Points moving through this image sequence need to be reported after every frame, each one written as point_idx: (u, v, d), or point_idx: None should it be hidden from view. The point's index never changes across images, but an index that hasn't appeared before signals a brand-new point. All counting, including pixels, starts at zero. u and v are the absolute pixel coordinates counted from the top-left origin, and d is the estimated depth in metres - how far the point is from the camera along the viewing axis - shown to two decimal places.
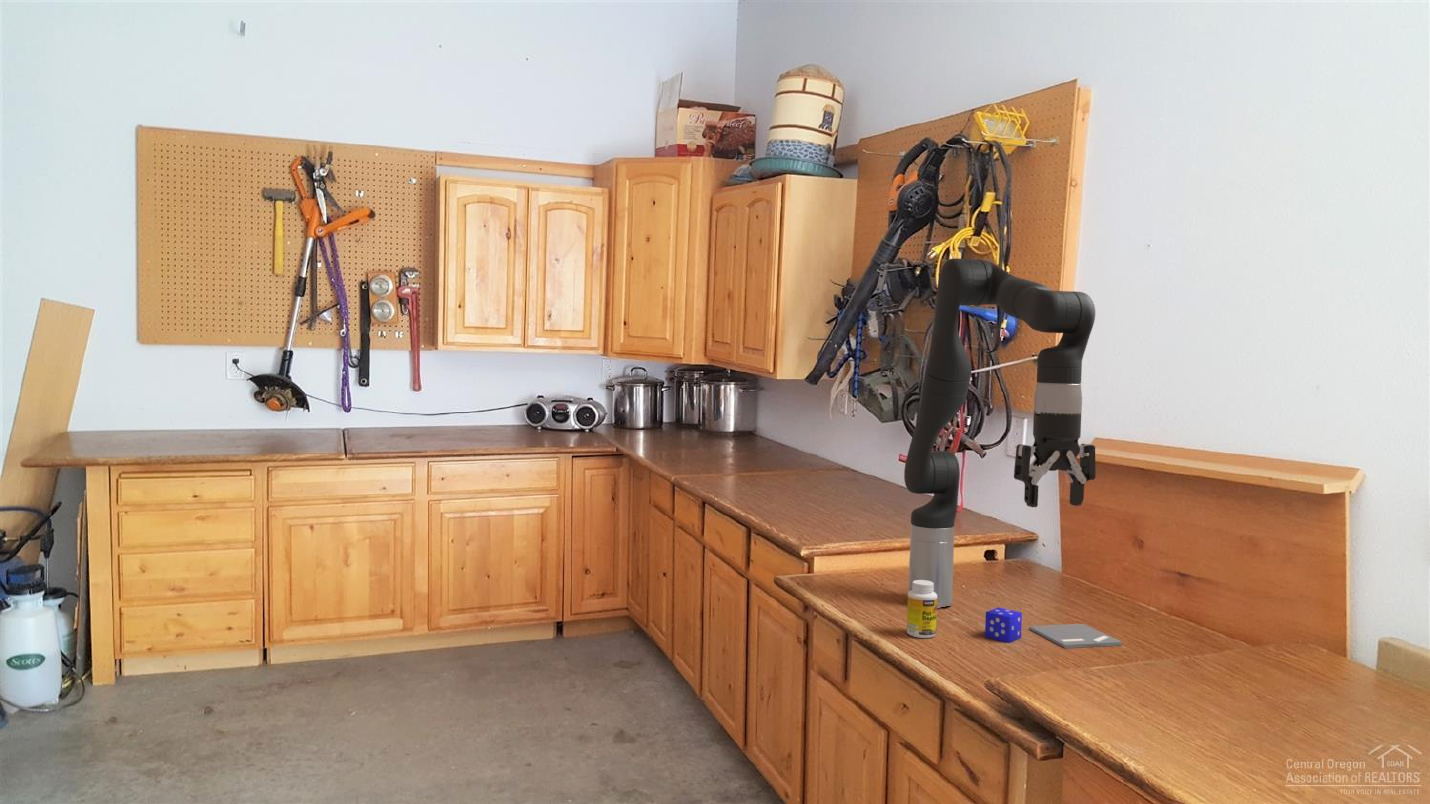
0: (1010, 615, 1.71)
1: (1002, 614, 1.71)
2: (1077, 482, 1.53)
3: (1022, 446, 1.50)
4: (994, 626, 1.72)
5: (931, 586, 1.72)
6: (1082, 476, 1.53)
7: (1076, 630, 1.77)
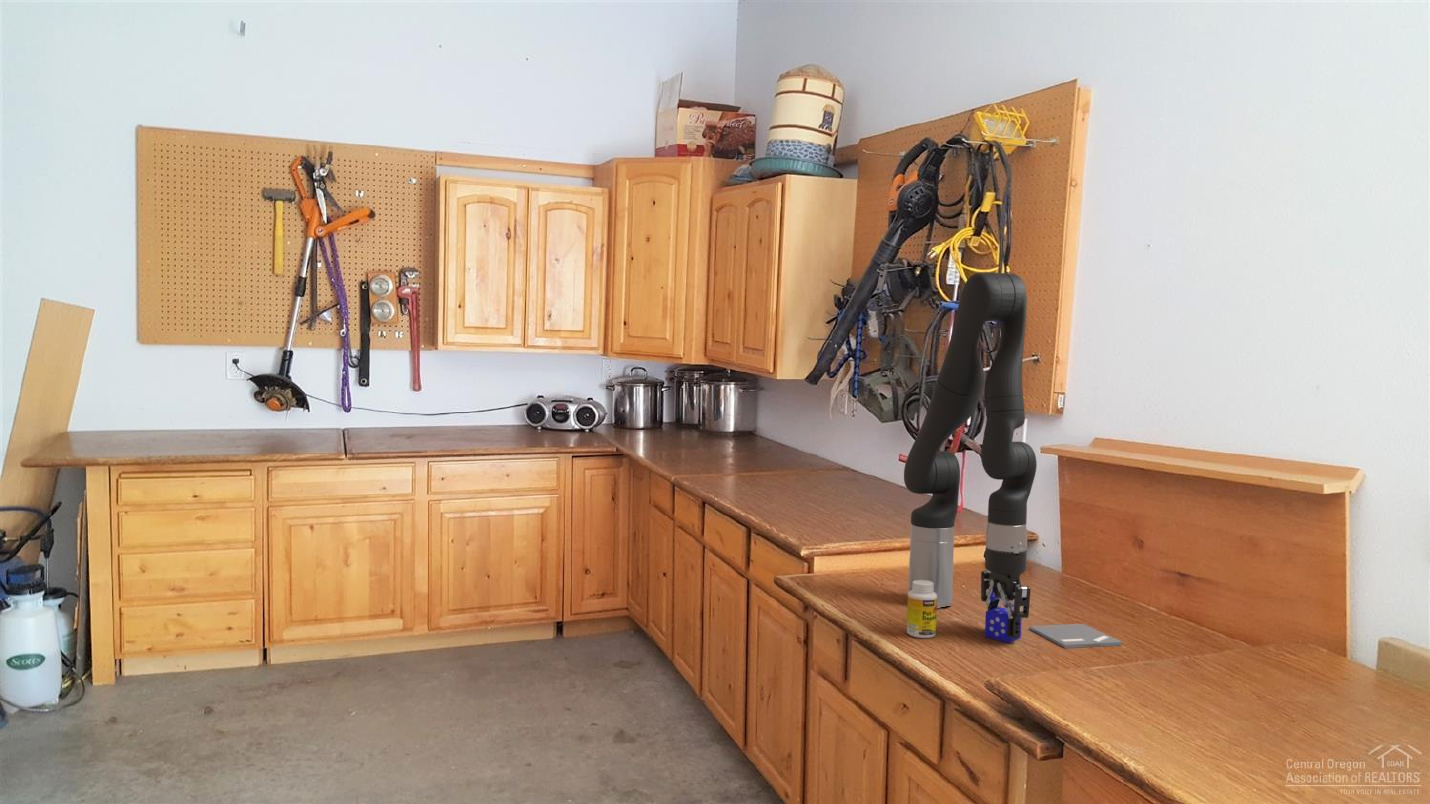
0: None
1: (1002, 613, 1.71)
2: (996, 606, 1.77)
3: (1025, 588, 1.66)
4: (994, 626, 1.72)
5: (931, 586, 1.72)
6: None
7: (1076, 630, 1.77)
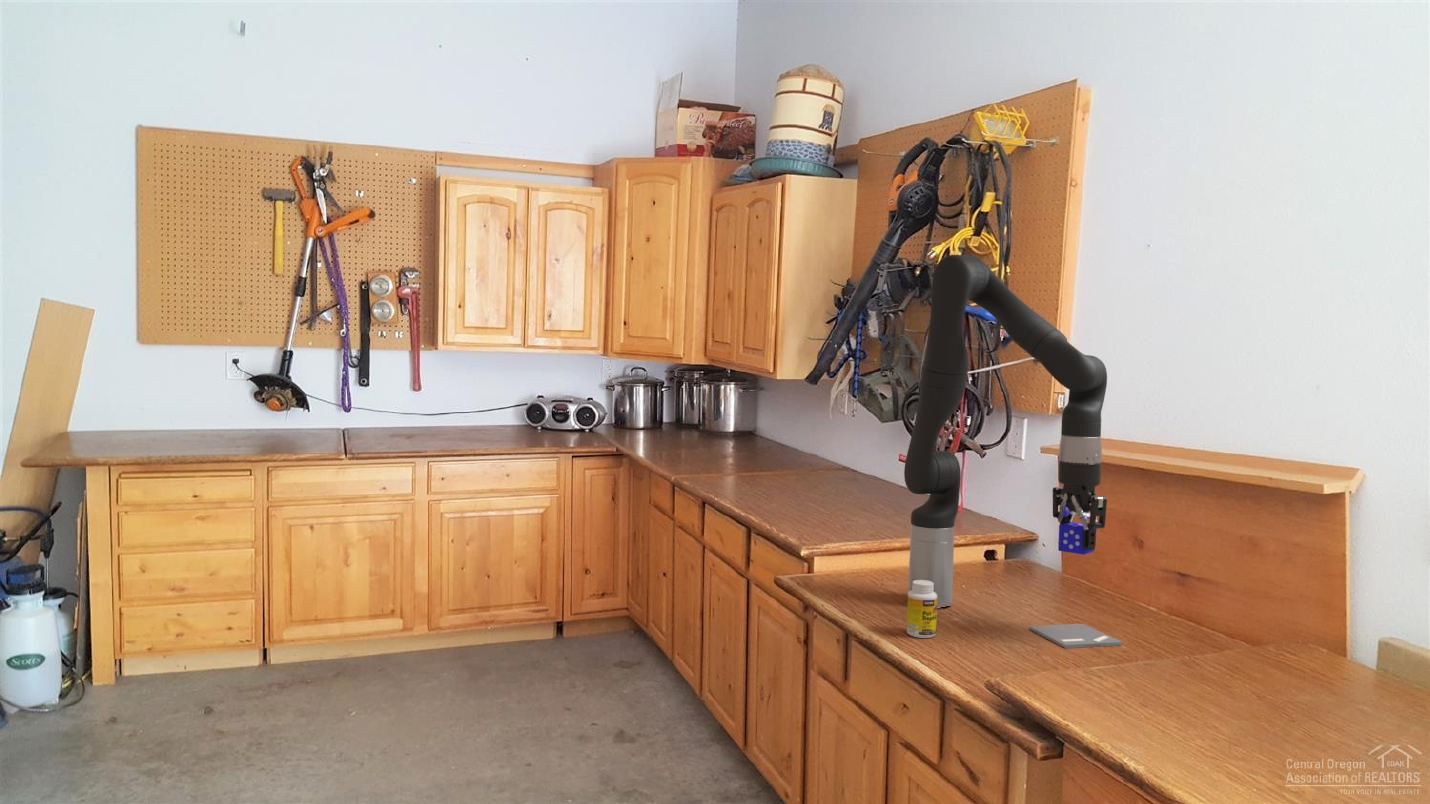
0: None
1: (1076, 526, 1.72)
2: (1069, 521, 1.77)
3: (1102, 498, 1.66)
4: (1068, 538, 1.72)
5: (931, 586, 1.72)
6: None
7: (1076, 630, 1.77)
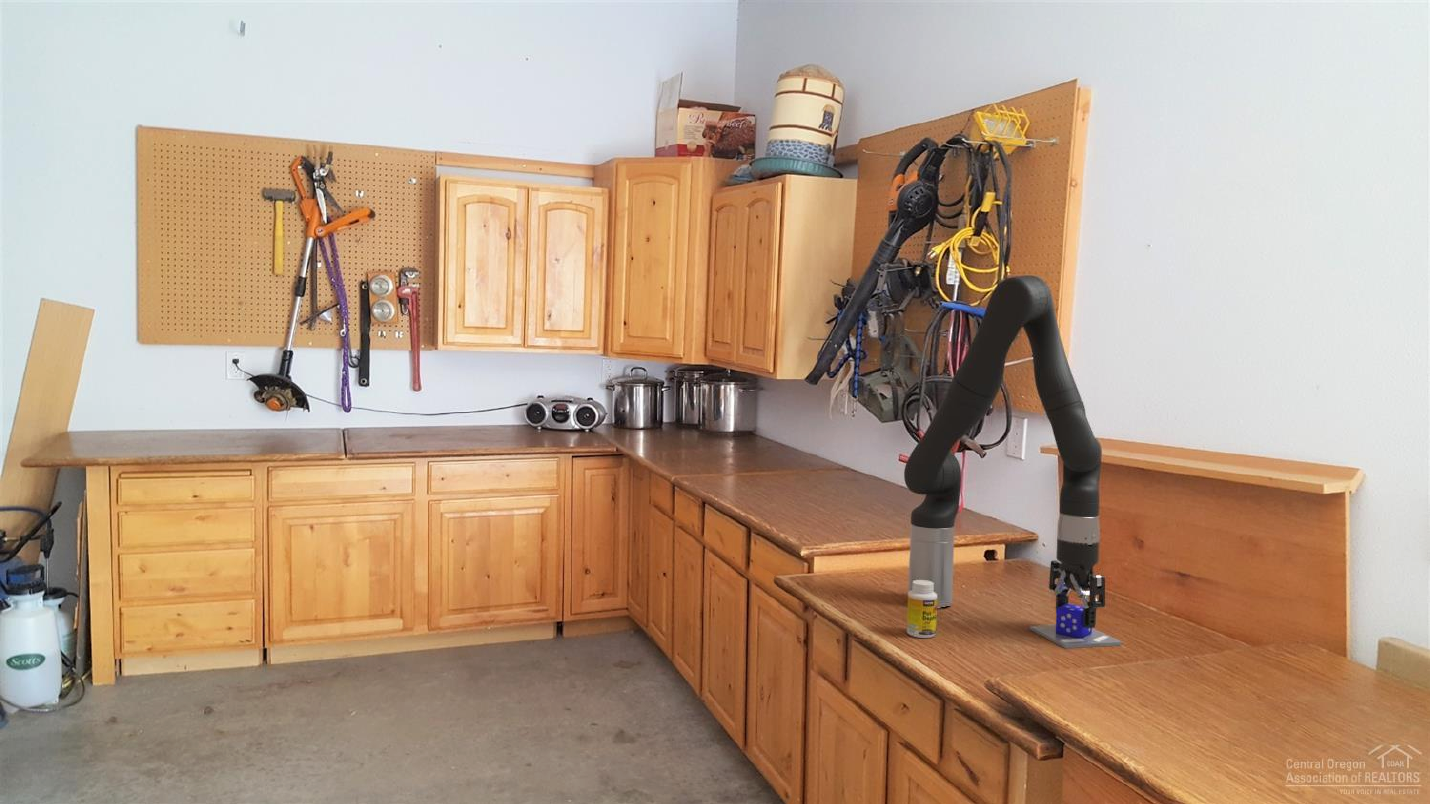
0: (1082, 611, 1.72)
1: (1073, 610, 1.72)
2: (1065, 595, 1.78)
3: (1100, 577, 1.67)
4: (1065, 622, 1.73)
5: (931, 586, 1.72)
6: (1067, 588, 1.79)
7: None
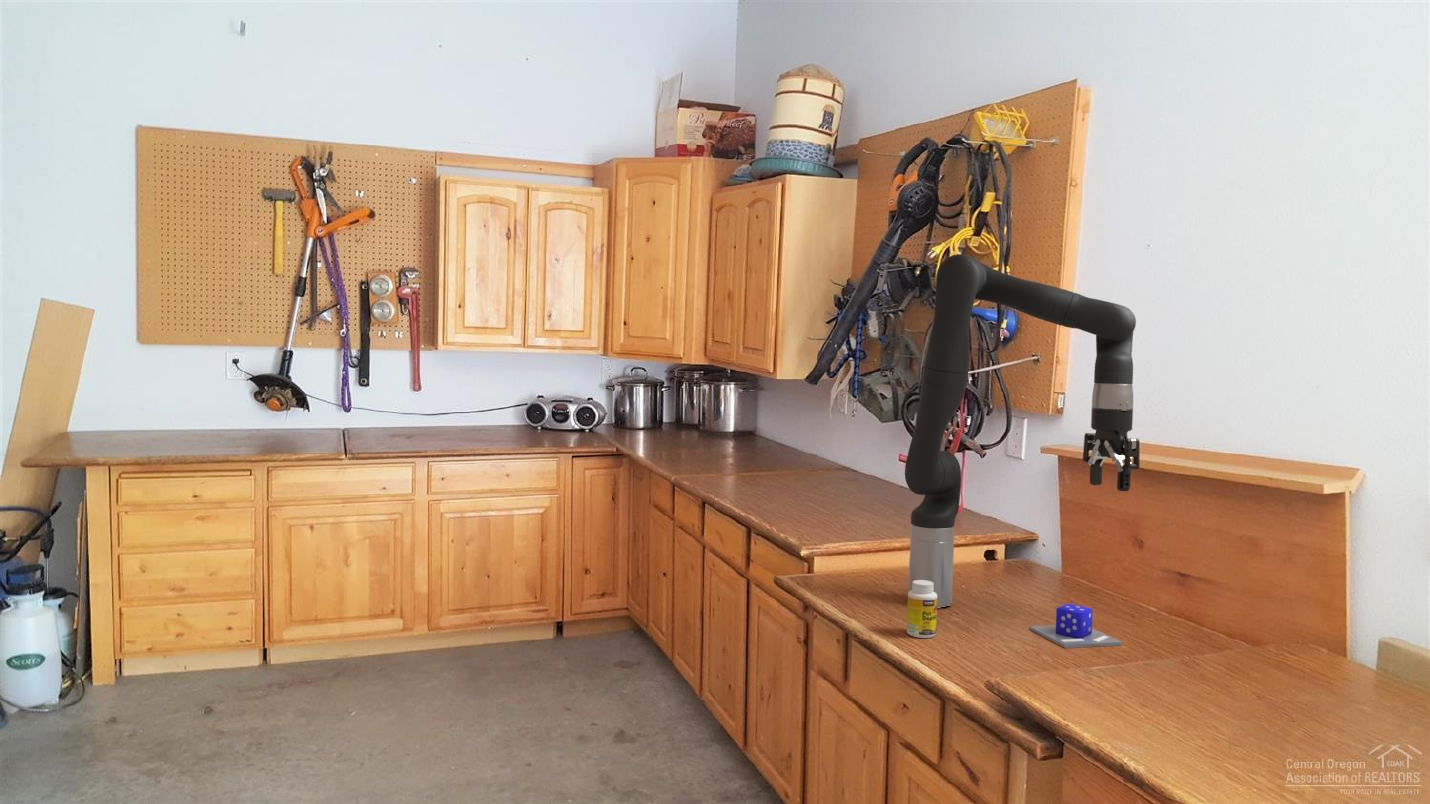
0: (1082, 611, 1.72)
1: (1073, 610, 1.72)
2: (1098, 465, 1.84)
3: (1134, 439, 1.73)
4: (1065, 622, 1.73)
5: (931, 586, 1.72)
6: None
7: None
